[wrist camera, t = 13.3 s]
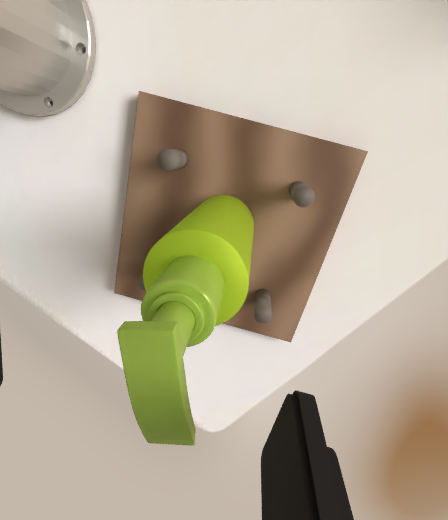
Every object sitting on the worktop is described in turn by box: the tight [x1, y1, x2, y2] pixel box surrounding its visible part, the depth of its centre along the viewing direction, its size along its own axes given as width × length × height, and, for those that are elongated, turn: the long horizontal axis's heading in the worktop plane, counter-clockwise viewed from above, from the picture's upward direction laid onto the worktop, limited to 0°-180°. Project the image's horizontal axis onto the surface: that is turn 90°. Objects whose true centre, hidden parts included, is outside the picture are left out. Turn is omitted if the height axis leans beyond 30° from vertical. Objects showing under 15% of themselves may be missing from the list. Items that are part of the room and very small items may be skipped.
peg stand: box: [114, 91, 368, 342], centre depth 27 cm, size 20×20×6 cm
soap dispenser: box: [117, 195, 254, 445], centre depth 19 cm, size 6×7×20 cm
